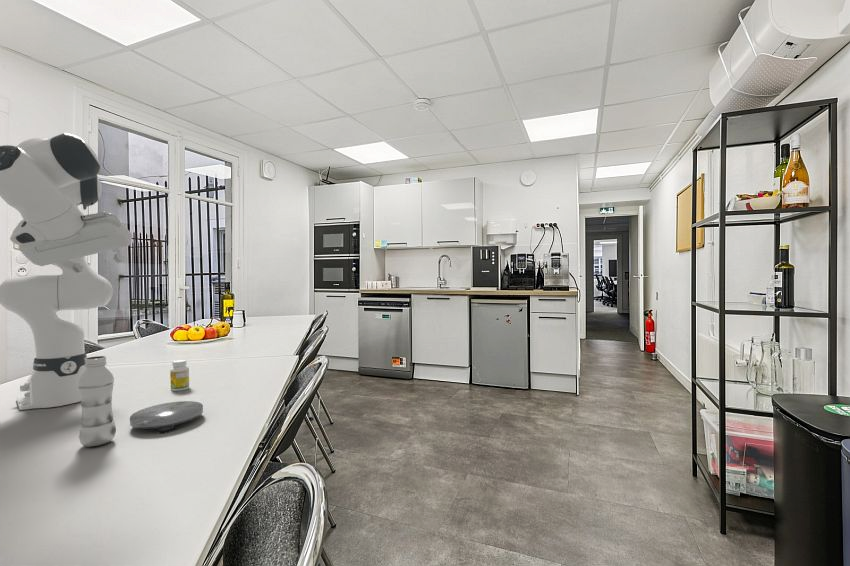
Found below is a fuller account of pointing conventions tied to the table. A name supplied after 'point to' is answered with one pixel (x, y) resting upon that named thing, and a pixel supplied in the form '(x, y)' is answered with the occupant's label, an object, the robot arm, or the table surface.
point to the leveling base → (166, 415)
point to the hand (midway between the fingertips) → (100, 265)
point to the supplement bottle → (179, 375)
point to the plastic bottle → (96, 403)
